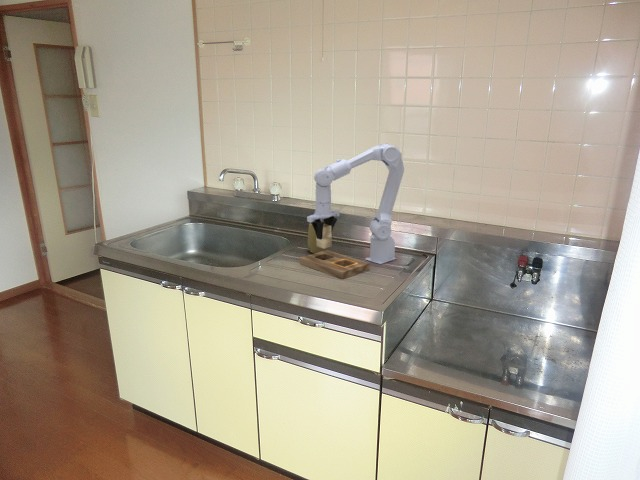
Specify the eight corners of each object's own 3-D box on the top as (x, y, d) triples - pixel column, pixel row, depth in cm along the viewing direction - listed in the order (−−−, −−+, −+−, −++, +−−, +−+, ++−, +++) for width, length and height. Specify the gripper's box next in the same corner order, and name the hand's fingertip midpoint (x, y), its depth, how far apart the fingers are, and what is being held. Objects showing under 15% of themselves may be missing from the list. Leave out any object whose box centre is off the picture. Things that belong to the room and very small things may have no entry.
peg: (324, 244, 181) (324, 224, 179) (331, 246, 178) (331, 225, 176) (316, 246, 179) (316, 225, 177) (323, 248, 176) (323, 227, 174)
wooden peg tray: (327, 255, 189) (327, 249, 188) (369, 269, 173) (369, 262, 172) (300, 263, 180) (299, 256, 180) (342, 279, 164) (342, 271, 163)
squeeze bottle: (304, 253, 193) (303, 210, 188) (312, 248, 200) (311, 206, 195) (322, 255, 190) (322, 211, 185) (330, 249, 197) (329, 207, 192)
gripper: (330, 197, 181) (330, 232, 185) (301, 203, 172) (302, 239, 176) (343, 200, 176) (343, 235, 180) (314, 206, 167) (314, 243, 171)
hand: (323, 237), depth 178 cm, fingers closed on peg, 4 cm apart
